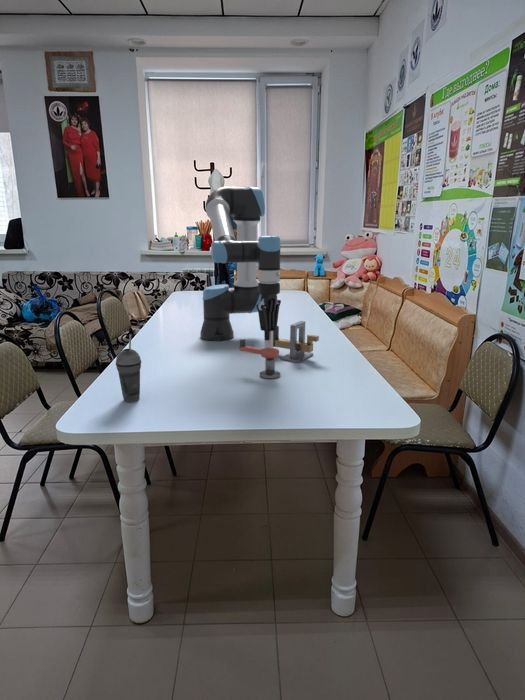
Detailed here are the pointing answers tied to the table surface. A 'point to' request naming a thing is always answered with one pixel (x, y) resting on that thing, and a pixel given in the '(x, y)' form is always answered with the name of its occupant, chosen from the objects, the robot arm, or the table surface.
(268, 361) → the dark grey metal pedestal
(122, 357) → the beverage cup
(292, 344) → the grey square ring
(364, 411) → the table surface
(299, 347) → the hook bar
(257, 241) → the robot arm
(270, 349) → the red joystick lever
